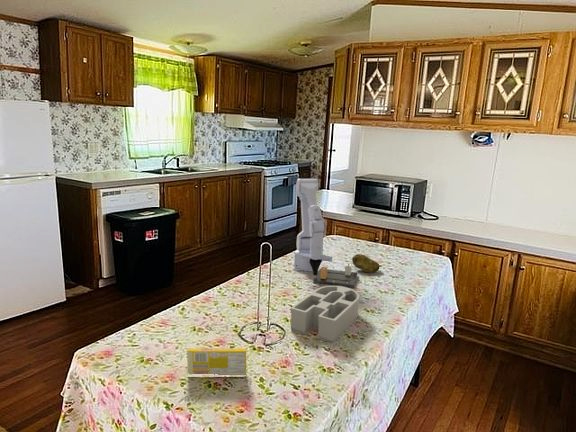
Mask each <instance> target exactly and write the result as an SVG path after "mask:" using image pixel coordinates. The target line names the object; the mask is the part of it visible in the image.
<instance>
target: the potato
mask: <svg viewBox="0 0 576 432" xmlns="http://www.w3.org/2000/svg"><path fill="white" fill-rule="evenodd" d="M351 261H352V264H353V266H354V267H355V268H356V269H360V271H362V272H365V273H375V272H378V271H379V270H380V264H379V263H378V262H377V261H375V260H374V259H372V258H370V257H368V256H367V255H365V254H362V253H357V254H355V255H354V256H352V258H351Z"/></svg>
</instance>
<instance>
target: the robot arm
mask: <svg viewBox="0 0 576 432" xmlns="http://www.w3.org/2000/svg"><path fill="white" fill-rule="evenodd" d="M319 184H320V183H319V179H318V178H297V179H296V184H295V189H296V196H297V197H298V198H299V199H300V210H301V211H300V213H301V215H300V216H301V231H300V232H299V233H298V234H297V236H296V242H295V243H296V250H295V252H294V259H293V260H294V264H293V265H294V267H293V270H295V271H296V270H297V271H303V270H304V271H303V272H312V273H313V276H314V277H315V276H317V273H318V271H319V269H320V266H321V264H322V262H325V261H326V262H329V263H332V262H333V256H331V255H330V256H329V255H326V254H324V234H325V233H326V230H327V223H326V220H325V219H324V217H323V215H322V211H321V207H320V206H319V205H318V201H317V193H318V190H319Z"/></svg>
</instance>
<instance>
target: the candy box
mask: <svg viewBox="0 0 576 432" xmlns="http://www.w3.org/2000/svg"><path fill="white" fill-rule="evenodd" d="M186 358H187V374H188V373H189V374H214V375H215V374H218V375H246V376H247V348H237V347H236V348H187V351H186Z"/></svg>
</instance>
